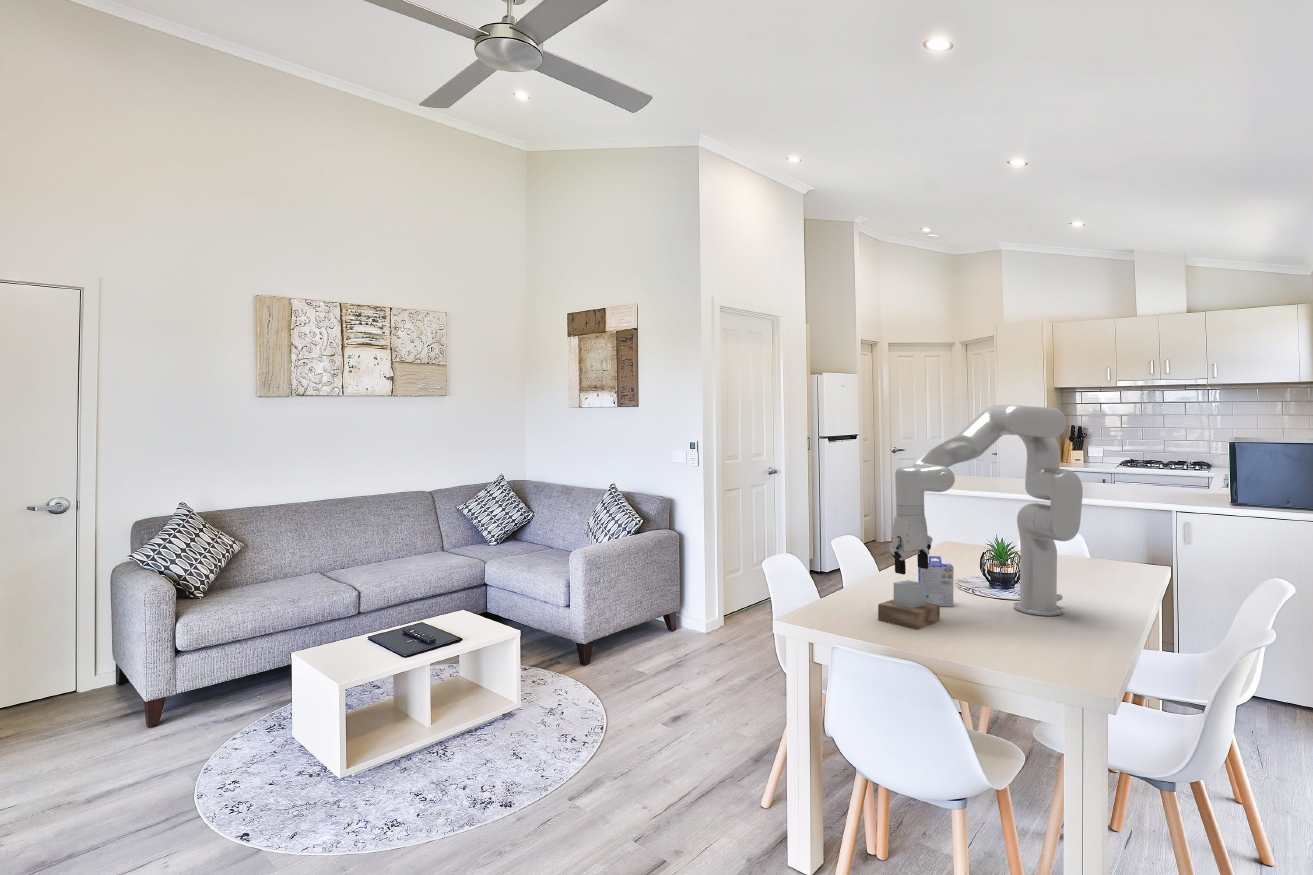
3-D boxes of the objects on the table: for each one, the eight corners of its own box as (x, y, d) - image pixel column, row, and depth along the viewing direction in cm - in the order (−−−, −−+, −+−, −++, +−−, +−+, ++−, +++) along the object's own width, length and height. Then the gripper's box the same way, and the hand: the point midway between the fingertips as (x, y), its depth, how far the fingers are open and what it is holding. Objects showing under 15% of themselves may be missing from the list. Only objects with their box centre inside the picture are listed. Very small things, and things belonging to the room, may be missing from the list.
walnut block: (900, 613, 207) (900, 596, 207) (939, 622, 198) (939, 605, 198) (878, 621, 199) (878, 604, 199) (917, 631, 190) (917, 613, 190)
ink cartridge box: (950, 602, 217) (951, 555, 217) (954, 607, 212) (954, 559, 211) (917, 600, 219) (917, 554, 219) (920, 605, 214) (920, 558, 213)
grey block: (907, 600, 203) (907, 580, 203) (925, 605, 198) (925, 584, 197) (893, 603, 200) (893, 582, 200) (910, 608, 195) (910, 586, 194)
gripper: (919, 506, 205) (920, 564, 206) (878, 512, 196) (880, 573, 197) (941, 508, 199) (942, 568, 200) (900, 515, 190) (902, 578, 191)
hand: (911, 570), depth 198 cm, fingers open, 9 cm apart
